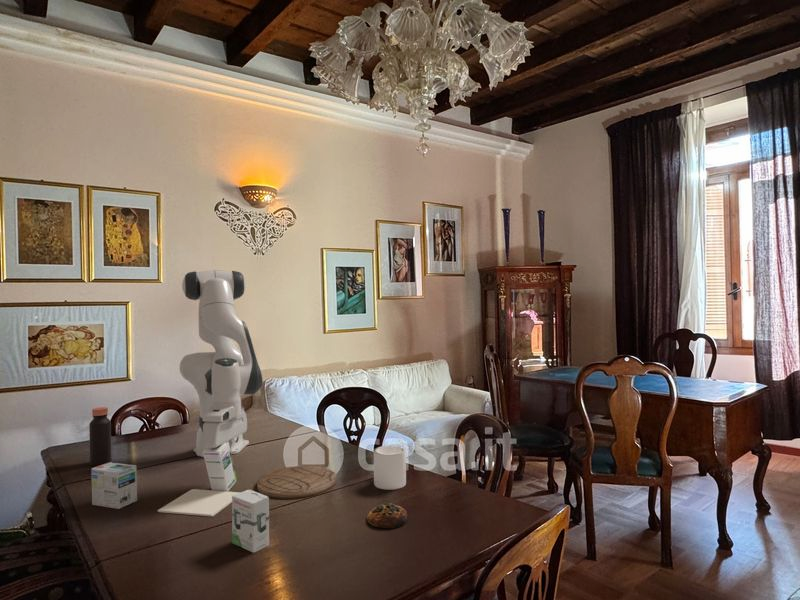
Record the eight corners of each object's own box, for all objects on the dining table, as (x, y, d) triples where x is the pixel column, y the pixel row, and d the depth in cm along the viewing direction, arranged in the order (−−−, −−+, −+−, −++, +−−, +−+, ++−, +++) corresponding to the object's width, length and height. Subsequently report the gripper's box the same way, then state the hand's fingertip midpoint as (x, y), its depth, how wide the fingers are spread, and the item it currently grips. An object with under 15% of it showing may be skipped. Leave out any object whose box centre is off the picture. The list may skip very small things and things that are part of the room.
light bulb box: (138, 500, 150) (137, 464, 150) (118, 509, 143) (118, 472, 143) (110, 496, 153) (110, 461, 153) (90, 505, 147) (90, 468, 147)
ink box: (230, 543, 122) (230, 494, 122) (247, 535, 126) (247, 488, 126) (253, 553, 117) (252, 503, 117) (270, 545, 121) (269, 496, 121)
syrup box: (228, 492, 155) (220, 451, 151) (211, 491, 156) (202, 450, 152) (237, 480, 160) (229, 440, 156) (220, 479, 162) (212, 440, 157)
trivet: (298, 466, 179) (298, 461, 179) (352, 480, 165) (352, 474, 165) (240, 488, 159) (240, 482, 159) (295, 506, 145) (295, 500, 145)
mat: (192, 490, 157) (192, 489, 157) (242, 494, 153) (242, 492, 153) (157, 512, 141) (157, 510, 141) (212, 516, 138) (212, 514, 138)
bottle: (85, 464, 183) (84, 409, 183) (102, 459, 190) (102, 406, 190) (98, 466, 181) (97, 411, 181) (115, 461, 187) (114, 407, 187)
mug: (367, 477, 167) (366, 444, 167) (396, 473, 171) (395, 441, 171) (379, 491, 154) (379, 456, 154) (410, 486, 158) (410, 452, 158)
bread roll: (394, 533, 127) (392, 512, 127) (359, 529, 133) (357, 509, 133) (416, 518, 136) (414, 499, 137) (382, 515, 142) (381, 496, 143)
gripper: (234, 403, 171) (235, 444, 171) (198, 417, 151) (199, 463, 151) (251, 404, 169) (252, 445, 169) (218, 417, 149) (218, 464, 149)
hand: (227, 454), depth 160 cm, fingers closed
